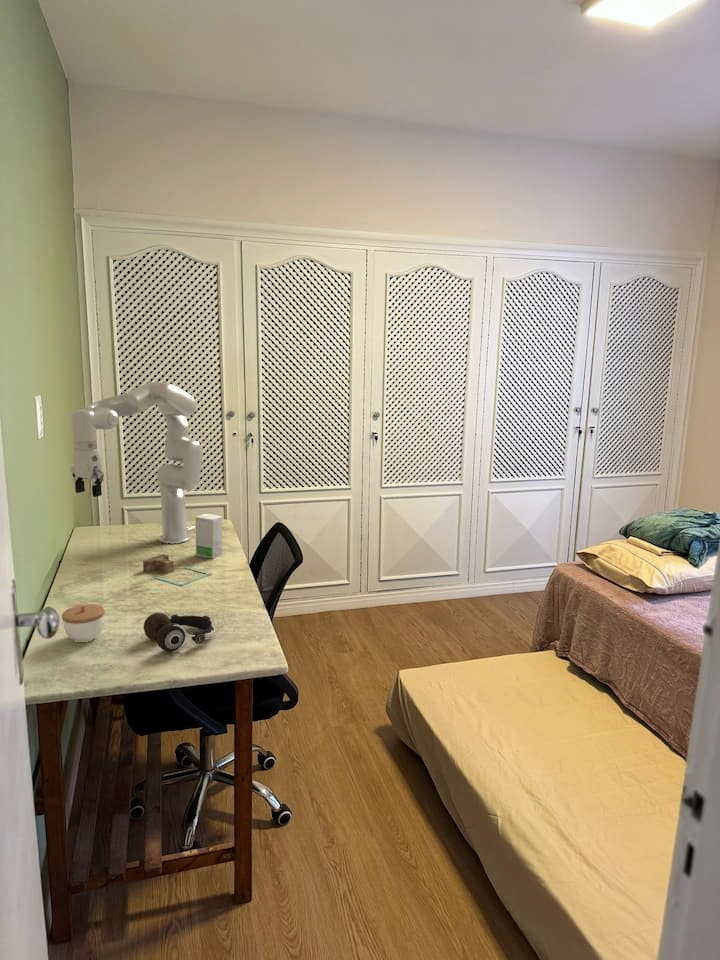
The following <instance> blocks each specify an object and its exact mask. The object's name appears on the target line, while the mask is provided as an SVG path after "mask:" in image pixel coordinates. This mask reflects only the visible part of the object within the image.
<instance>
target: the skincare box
mask: <svg viewBox="0 0 720 960" xmlns="http://www.w3.org/2000/svg"><path fill="white" fill-rule="evenodd" d="M220 554H221V555H222V554H223V516H222V515H217V514H212V513H211V514H210V513H203V514H200V515H196V516H195V556H196V555H197V556H196V557H201V556H203V557H202V558H207V557H210V558H209V559H212V558H213V559H215V558H217V557H219V556H221V555H220ZM218 555H219V556H218ZM216 556H217V557H216ZM214 557H215V558H214Z"/></svg>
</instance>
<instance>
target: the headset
mask: <svg viewBox="0 0 720 960" xmlns="http://www.w3.org/2000/svg"><path fill="white" fill-rule="evenodd" d="M183 626H184V627H185V626H186V627H191V628H195V629H200V630H201V631H200V630H196V631H194V632H192V635H191V634H188V632H187V630H186V629H185V628H184V627H183ZM142 628H143V631H144V635H145V636H146V637H147V638H148V639H150V640H152V641H156V642H157V645H158V647H159V648H160V649H161V650H163V651H168V652H170V653H178V652H180V651H181V650H182V649H184V647H185V646H186V645H187V644H188V643H195V644H197V645H201V644H203V643H204V642H205V641H206V640H210V639H213V638H214V635H215V630H216V628H215V626H213V622H212V621H211V618H210V616H208V615H203V616H200V615H178V614H172V615H171V616H170V617H169V616H168V615H166V614H165V613H164V612H162V611H157V612H155V613H152V614H150V615H149V616H147V618H146V619H145V620H144V622H143V627H142ZM186 636H187V637H189V638H191V640H188V641H186V642H185V640H186ZM177 651H178V652H177Z"/></svg>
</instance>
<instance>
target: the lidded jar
mask: <svg viewBox="0 0 720 960" xmlns="http://www.w3.org/2000/svg"><path fill="white" fill-rule="evenodd" d="M105 612H106V611H105V608H104V607H103V606H102V605H99V604H88V603H87V604H82V605H81V604H80V605H79V604H78V605H75V606H72V607H70V608H67V609H65V610H64V611H63V613H62V614H61V619H62V625H63V626H62V627H63V629H64V632H65V635H67V636H68V638H69V639H71V640H72V641H73V640H74V641H77V642H86V641H90V642H92V641H91V640H93V639H95V638H96V637H97V638H98V636H99V635H100V634H101V632H102V631H103V629H104V625H105ZM97 638H96V639H97ZM96 639H95V640H96ZM74 641H73V642H74ZM93 641H94V640H93ZM77 642H76V643H77ZM86 643H87V642H86Z"/></svg>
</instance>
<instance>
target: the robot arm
mask: <svg viewBox="0 0 720 960" xmlns="http://www.w3.org/2000/svg"><path fill="white" fill-rule="evenodd" d="M154 406H157V409H158V410H159V412H160V413H161V414H162V416H163V417H164V419H165V421H166V436H165V443H164V456H165V458H166V459H168V460H169V461H173V462H179V463H182V465H181V464H173V463H167V464H164V465H161V467H159V469H158V470H157V474H156V477H157V478H156V479H157V483H158V486H159V491H160V502H161V503H160V505H161V506H160V508H161V525H162V526H161V528H162V535H160V536H159V537H158V541H159V542H160V543H162V542H163V544H168V543H170V544H169V545H171V544H175V543H176V544H181V543H182V542H183V543H186V542H188V541H190V540H191V535H190V534H189V533H191V532H193V531H196V526H194V525H193V526H189V527H188V526H187V516H186V515H187V514H186V513H187V511H186V510H187V509H186V495H185V493H184V492H185V491H192V490H193V491H194V489H196V488H197V487H198V486H199V482H200V478H201V470H202V465H203V453H204V452H203V447H202V445H201V443H200V442H199V441H197V440H196V439H191V438H189V433H190V432H189V428H190V426H189V422H188V419H187V417H191V416H192V415H193V414H195V412H197V407H198V406H197V401H196V399H195V398H194V396H192V395H191V394H190V393H188V392H187V391H185V390H183V389H181V388H180V387H178V386H176V385H174V384H172V383H170V382H161V381H160V382H158V381H151V382H146V383H144V384H142V385H140V386H138V387H136V388H134V389H132V390H129V391H128V392H125V393H122V394H118V395H115V396H110V397H107V398H102V399H100V400H97V401H95V402H92V403H90V404H88V405H86V406H85V407H83V408H82V409H76V410H73V411H71V415H70V416H71V428H72V430H71V431H72V442H73V444H72V446H73V466H72V467H71V468H70V471H71V474H72V475H71V476H72V477H73V482H74V486H75V487H74V489H75V493H76V494H79V493H83V492H85V491H86V490H85V479H86V480H89V481H90V482H91V484H92V485H91V491H92V494H91V495H92V497H94V498H95V497H101V496H102V495H103V493H102V492H103V491H102V485H103V481H104V475H105V474H104V472H103V469H102V462H101V457H100V453H99V450H98V442H97V441H98V437H97V430H113V429H114V428H115V427H117V426H118V425H119V424H118V423H119V422H120V417H130V416H135V415H138V414H139V413H142V412H143V411H146V410H147V409H149V408H151V407H154ZM183 543H182V544H183Z"/></svg>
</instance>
